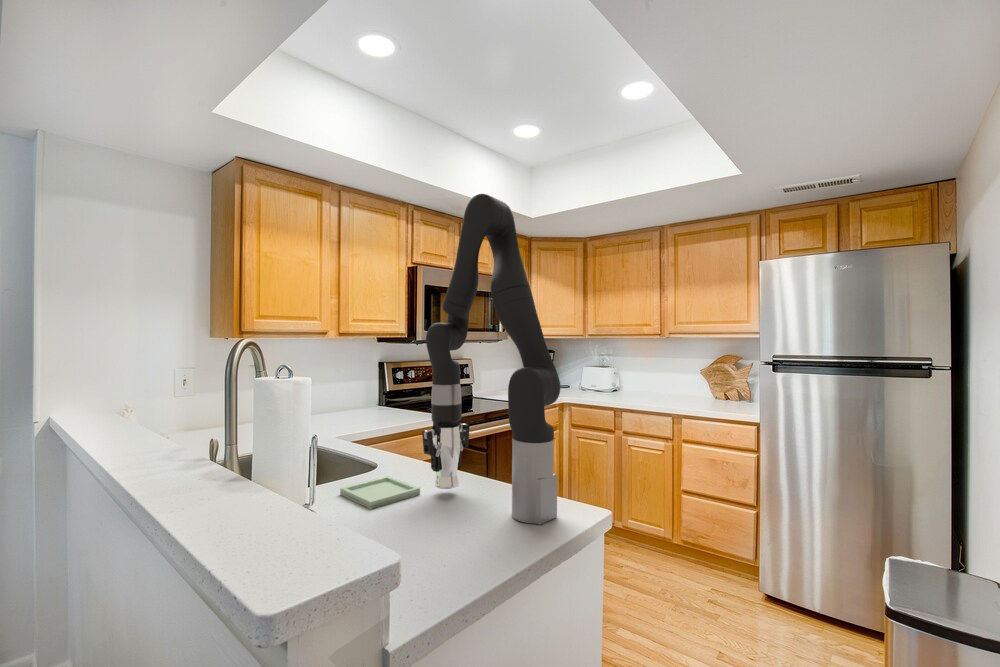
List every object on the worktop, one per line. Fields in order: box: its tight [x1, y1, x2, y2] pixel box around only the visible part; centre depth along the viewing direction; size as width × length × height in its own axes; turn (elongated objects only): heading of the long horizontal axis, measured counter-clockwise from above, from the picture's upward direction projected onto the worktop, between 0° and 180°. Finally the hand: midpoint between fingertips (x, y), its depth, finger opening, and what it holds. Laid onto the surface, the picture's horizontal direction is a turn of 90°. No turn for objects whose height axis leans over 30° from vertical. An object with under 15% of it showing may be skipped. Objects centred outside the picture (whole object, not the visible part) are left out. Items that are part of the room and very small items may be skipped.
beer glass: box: [433, 424, 461, 490], centre depth 120 cm, size 7×7×15 cm
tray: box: [339, 475, 421, 510], centre depth 119 cm, size 14×14×2 cm
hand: (446, 468), depth 120 cm, fingers closed on beer glass, 6 cm apart
